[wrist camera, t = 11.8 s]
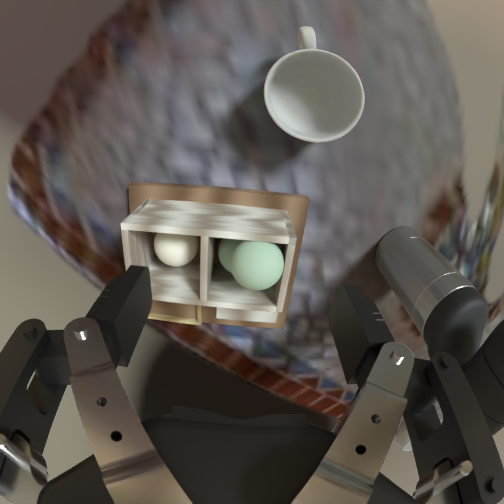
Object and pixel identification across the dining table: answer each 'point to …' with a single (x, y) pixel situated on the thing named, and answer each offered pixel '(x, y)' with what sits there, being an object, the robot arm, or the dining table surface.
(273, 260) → the sage ball
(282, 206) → the sorting board
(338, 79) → the teacup
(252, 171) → the dining table surface
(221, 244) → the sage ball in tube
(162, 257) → the cream ball
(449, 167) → the dining table surface
